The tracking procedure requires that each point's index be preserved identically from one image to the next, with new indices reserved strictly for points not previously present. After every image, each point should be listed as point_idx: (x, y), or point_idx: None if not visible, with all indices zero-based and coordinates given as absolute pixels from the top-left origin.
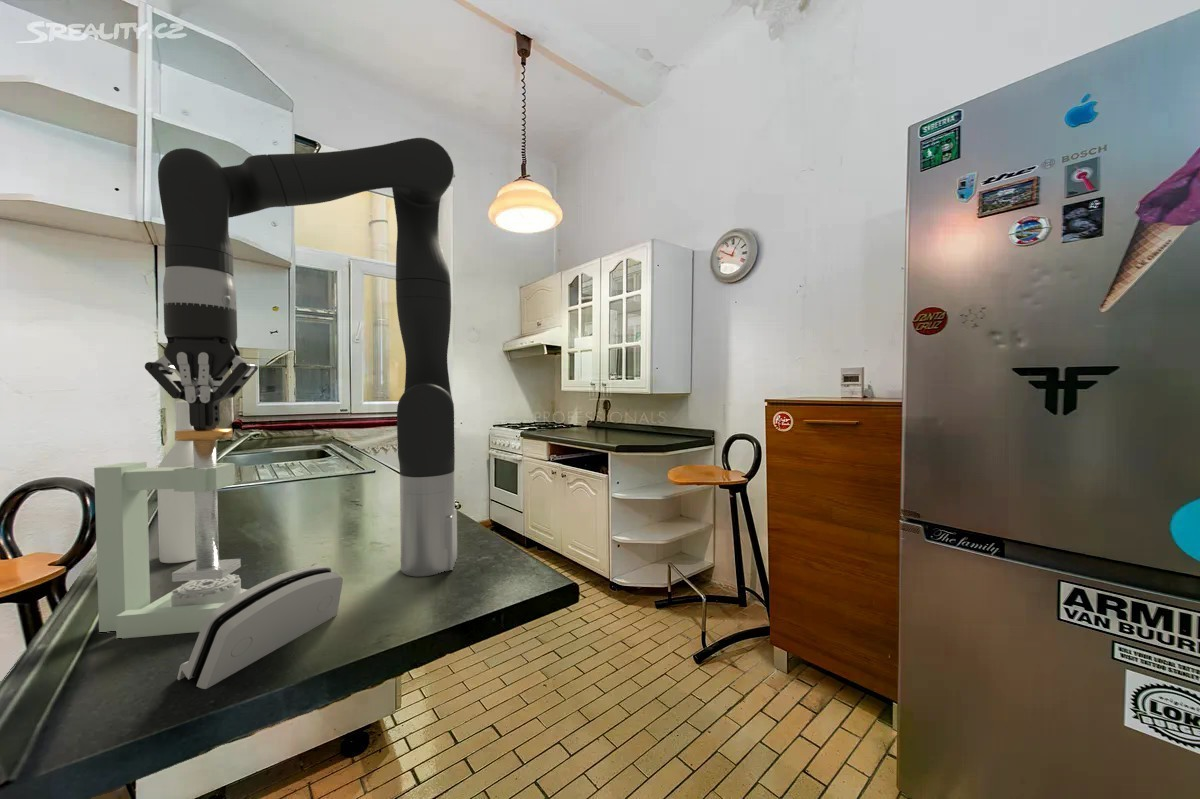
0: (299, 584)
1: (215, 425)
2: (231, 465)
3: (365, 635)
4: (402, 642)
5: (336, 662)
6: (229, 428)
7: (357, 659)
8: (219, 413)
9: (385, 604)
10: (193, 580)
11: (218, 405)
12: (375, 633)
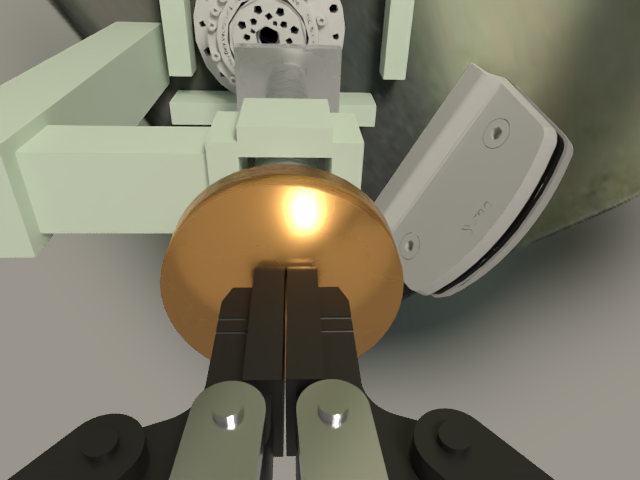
0: (522, 233)
1: (316, 274)
2: (362, 162)
3: (573, 172)
4: (622, 199)
5: (538, 229)
6: (372, 234)
7: (563, 227)
8: (353, 336)
9: (608, 67)
10: None
11: (359, 386)
12: (587, 169)
